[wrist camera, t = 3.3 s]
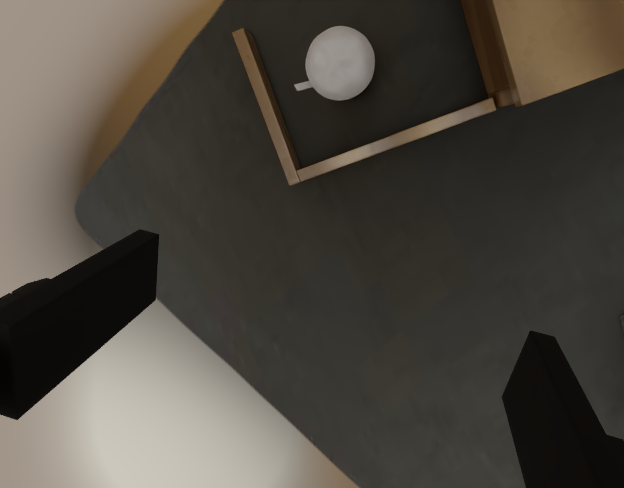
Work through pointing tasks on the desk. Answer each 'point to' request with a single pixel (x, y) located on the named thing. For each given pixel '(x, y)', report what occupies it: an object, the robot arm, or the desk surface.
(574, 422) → the robot arm
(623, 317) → the display case
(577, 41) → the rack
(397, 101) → the desk surface
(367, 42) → the milkshake
